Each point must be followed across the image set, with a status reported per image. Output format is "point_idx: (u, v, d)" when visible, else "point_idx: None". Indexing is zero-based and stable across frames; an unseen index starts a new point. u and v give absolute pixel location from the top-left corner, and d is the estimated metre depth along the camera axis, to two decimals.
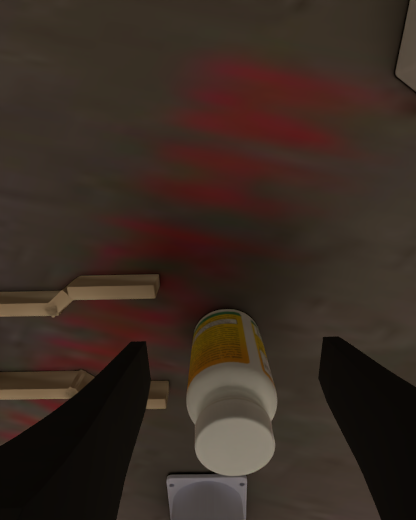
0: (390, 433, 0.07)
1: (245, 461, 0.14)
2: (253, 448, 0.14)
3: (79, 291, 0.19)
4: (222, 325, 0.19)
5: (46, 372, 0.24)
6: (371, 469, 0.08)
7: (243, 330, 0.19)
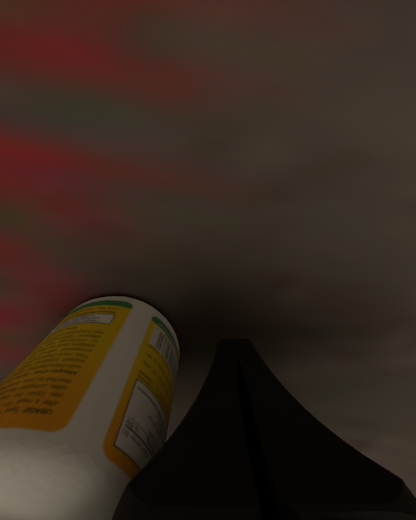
0: (253, 436, 0.07)
1: None
2: None
3: None
4: (76, 327, 0.09)
5: None
6: None
7: (114, 337, 0.09)
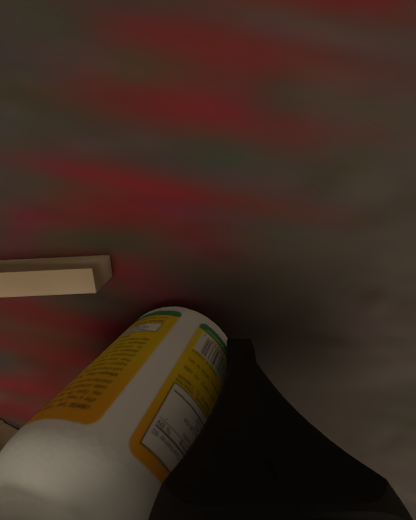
0: None
1: None
2: None
3: None
4: (129, 335, 0.10)
5: None
6: None
7: (158, 343, 0.10)
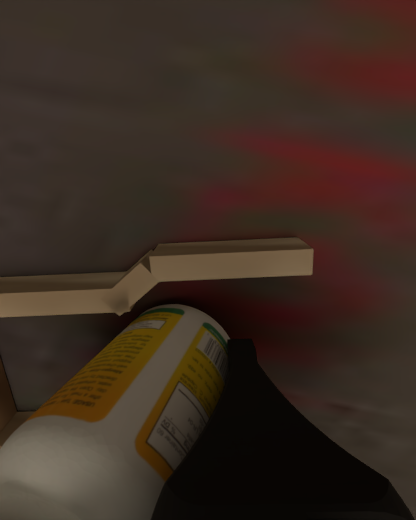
0: None
1: None
2: None
3: (172, 264, 0.10)
4: (131, 332, 0.10)
5: None
6: None
7: (162, 341, 0.09)
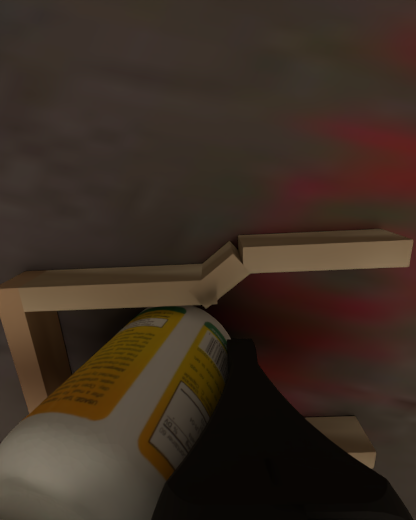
0: None
1: None
2: None
3: (266, 255, 0.10)
4: (133, 329, 0.10)
5: None
6: None
7: (164, 339, 0.09)
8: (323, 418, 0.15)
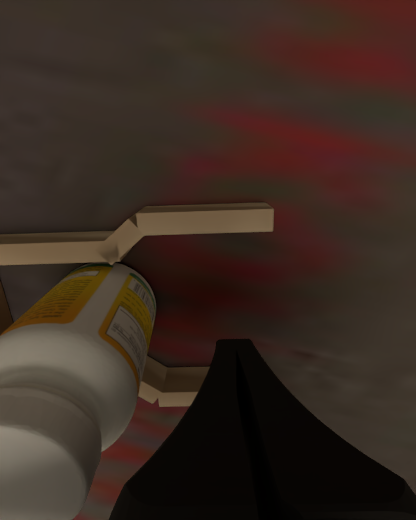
0: (254, 436, 0.07)
1: (35, 510, 0.07)
2: (39, 483, 0.07)
3: (155, 220, 0.12)
4: (71, 280, 0.12)
5: None
6: (251, 472, 0.08)
7: (100, 282, 0.12)
8: None
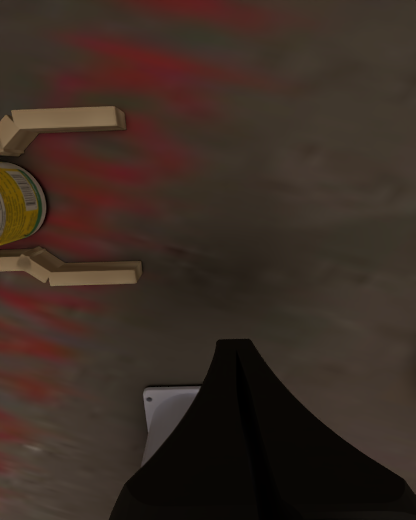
0: (254, 436, 0.07)
1: None
2: None
3: (26, 116, 0.16)
4: None
5: None
6: (251, 472, 0.08)
7: None
8: (118, 262, 0.21)
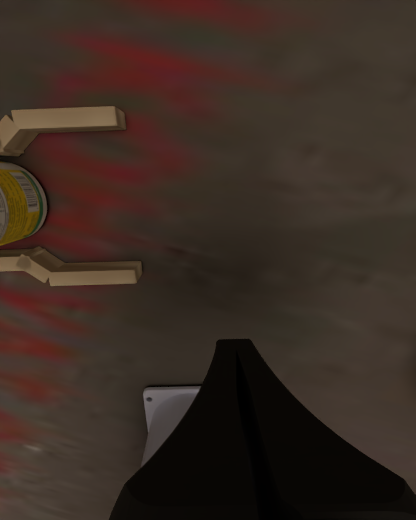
0: (254, 436, 0.07)
1: None
2: None
3: (26, 116, 0.16)
4: None
5: None
6: (251, 472, 0.08)
7: None
8: (118, 262, 0.21)
